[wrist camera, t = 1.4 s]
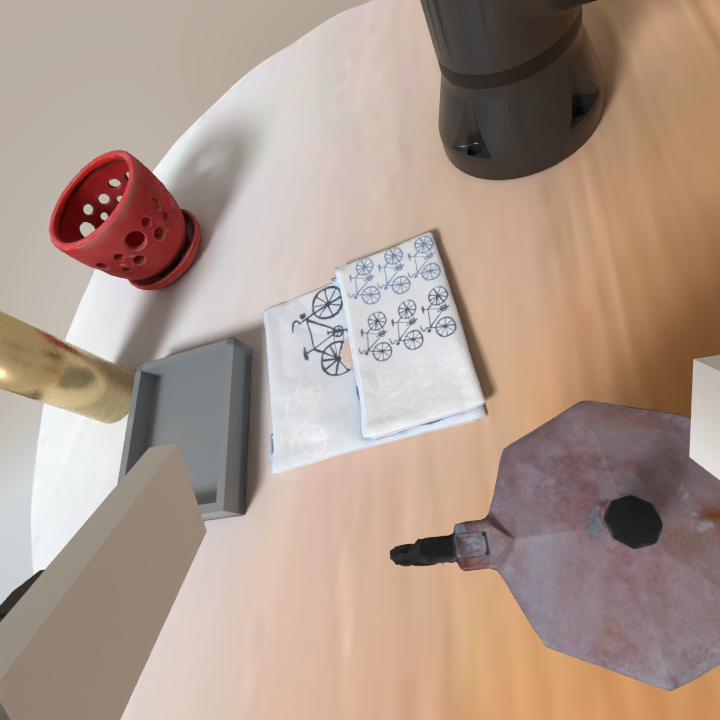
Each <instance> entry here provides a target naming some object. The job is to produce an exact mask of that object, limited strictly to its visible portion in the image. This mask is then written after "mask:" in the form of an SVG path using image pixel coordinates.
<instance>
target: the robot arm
mask: <svg viewBox="0 0 720 720" xmlns="http://www.w3.org/2000/svg"><path fill="white" fill-rule="evenodd" d="M420 1H421V4H422V8H423V11H424V15H425V18H426V22H427V25H428V28H429V32H430V35H431V39H432V42H433V46H434V49H435V53H436V55H437V59H438V62H439V66H440V70H441V89H440V106H439V132H440V137H441V140H442V143H443V146H444V149H445V152H446V154H447V156H448V158H449V160H450V161H451V162H452V163H453V164H454V165H455V166H456V167H457V168H458V169H459V170H461V171H463V172H464V173H466V174H469V175H471V176H474V177H478V178H482V179H489V180H507V179H515V178H520V177H525V176H529V175H532V174H535V173H538V172H541V171H543V170H545V169H548V168H550V167H552V166H554V165H556V164H557V163H559V162H561V161H562V160H564V159H566V158H567V157H568V156H570V155H571V154H572V153H574V152H575V151H576V150H577V149H578V148H580V147H581V146H582V145H583V144H584V143H585V142H586V140H587V139H588V138H589V137H590V135H591V134H592V133H593V131H594V130H595V128H596V126H597V125H598V123H599V120H600V118H601V115H602V111H603V104H604V78H603V73H602V69H601V67H600V64H599V62H598V59H597V57H596V54H595V52H594V50H593V47H592V45H591V42H590V40H589V38H588V35H587V33H586V30H585V28H584V26H583V23H582V5H584V4H587V3H590V2H593V1H596V0H420ZM689 457H690V458H691V459H693V460H694V461H695V462H697V463H698V464H699V465H700V466H702V467H703V468H704V469H706V470H707V471H708V472H710V473H711V474H712V475H714V476H715V477H716V478H718V479H719V480H720V355H716V356H709V357H703V358H697V359H694V360H693V383H692V406H691V429H690V452H689ZM205 533H206V528H205V525H204V522H203V519H202V516H201V513H200V509H199V506H198V503H197V500H196V497H195V494H194V491H193V488H192V485H191V482H190V479H189V476H188V472H187V469H186V466H185V463H184V460H183V457H182V454H181V451H180V448H179V445H178V443H174V444H168V445H162V446H156V447H150V448H149V449H148V450H147V451H146V452H145V453H144V454H143V456H142V457H141V458H140V459H139V460H138V461H137V463H136V464H135V465H134V466H133V467H132V468H131V470H130V471H129V472H128V473H127V474H126V476H125V477H124V478H123V479H122V480H121V481H120V483H119V484H118V485H117V486H116V487H115V488H114V490H113V491H112V492H111V493H110V494H109V495H108V497H107V498H106V499H105V500H104V501H103V503H102V504H101V505H100V506H99V507H98V508H97V510H96V511H95V512H94V513H93V514H92V515H91V517H90V518H89V519H88V520H87V521H86V522H85V524H84V525H83V526H82V527H81V528H80V530H79V531H78V532H77V533H76V534H75V535H74V537H73V538H72V539H71V540H70V541H69V542H68V544H67V545H66V546H65V547H64V548H63V549H62V551H61V552H60V553H59V554H58V555H57V556H56V558H55V559H54V560H53V561H52V562H51V564H50V565H49V566H48V567H47V568H46V569H45V570H40V571H39V572H37V573H36V574H35V575H34V576H32V577H31V578H30V579H28V580H27V581H26V582H25V583H24V584H22V585H21V586H19V587H18V588H17V589H15V590H14V591H13V592H12V593H11V594H10V595H9V596H8V597H7V599H6V600H5V601H4V602H3V603H2V604H1V605H0V720H120V719H121V717H122V714H123V712H124V710H125V708H126V706H127V703H128V701H129V699H130V697H131V695H132V693H133V690H134V688H135V686H136V684H137V682H138V679H139V677H140V675H141V673H142V671H143V669H144V666H145V664H146V662H147V660H148V658H149V655H150V653H151V651H152V649H153V647H154V645H155V642H156V640H157V638H158V636H159V634H160V631H161V629H162V627H163V625H164V623H165V621H166V618H167V616H168V614H169V612H170V610H171V608H172V605H173V603H174V601H175V599H176V597H177V594H178V592H179V590H180V588H181V586H182V584H183V581H184V579H185V577H186V575H187V573H188V570H189V568H190V566H191V564H192V562H193V560H194V557H195V555H196V553H197V551H198V549H199V546H200V544H201V542H202V540H203V538H204V536H205Z"/></svg>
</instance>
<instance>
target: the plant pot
mask: <svg viewBox="0 0 720 720" xmlns="http://www.w3.org/2000/svg"><path fill="white" fill-rule="evenodd" d="M126 172H129V178H128V177H127V175H126ZM111 179H117V180H119V181H120V183H121V184H120V185H119V186H117V187H114V186H111V185H110V184H109V181H110V180H111ZM101 194H106V195H108V196H109V198H110V200H109V202H108V203H106V204H102V203H100V202H99V200H98V197H99V195H101ZM118 196H122V198H121V200H120V202H118V201H117V199H116V198H117V197H118ZM86 204H90V205H91V206H92V207H93V212H92V214H90V215H87V214H85V213H84V211H83V207H84V206H85V205H86ZM103 212H105V213H107V214H108V218H107V219H106V220H102V219H101V217H100V215H101V213H103ZM83 222H88V223H91V224H92V225H93V226H94V228H95V231H94V232H92V233H91V234H90V235H88V236H87V237H84V236H83V235H82V234H81V232H80V225H81V224H82V223H83ZM49 232H50V237H51V241H52V243H53V244H54V246H55V247H57V248H58V249H59V250H61V251H63V252H64V253H66V254H67V255H69V256H71V257H72V258H74V259H76V260H78V261H80V262H81V263H83V264H86V265H88V266H90V267H92V268H96V269H99V270H101V271H103V272H105V273H108V274H110V275H112V276H116V277H120V278H125V279H128V280H129V282H130V283H131V284H132V285H133V286H135V287H137V288H139V289H143V290H155V289H159V288H162V287H164V286H166V285H168V284H170V283H172V282H173V281H175V280H176V279H177V278H178V277H180V276H181V275H182V274H183V273H184V272H185V271H186V269H187V268H188V267H189V266H190V264H191V263H192V261H193V259H194V257H195V255H196V253H197V250H198V247H199V243H200V227H199V224H198V221H197V220H196V218H195V216H194V215H193V214H192V213H191V212H189V211H187V210H184V209H180V208H179V206H178V204H177V202H176V201H175V199H174V198H173V196H172V195H171V194H170V192H169V191H168V190H167V189H166V187H165V186H164V185H163V184H162V182H160V181H159V180H158V179H157V177H156V176H155V175H154V174H153V173H152V172H151V171H150V170H149V169H148V168H147V167H145V166H144V165H143V164H142V163H141V162H140V161H139V160H137V159H136V158H135V157H133V156H132V155H131V154H129V153H128V152H125V151H122V150H118V151H117V150H116V151H111V152H108V153H105V154H103V155H101V156H99V157H97V158H96V159H94V160H93V161H92V162H90V163H89V164H88V165H86V166H85V167H84V168H83V169H82V170H81V171H80V172H79V173H78V174H77V175H76V176H75V177H74V178H73V180H72V181H71V182H70V183H69V185H68V186H67V187H66V189H65V190H64V191H63V193H62V194H61V196H60V198H59V200H58V202H57V204H56V206H55V208H54V211H53V213H52V217H51V220H50V226H49Z"/></svg>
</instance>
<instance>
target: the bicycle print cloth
mask: <svg viewBox="0 0 720 720" xmlns="http://www.w3.org/2000/svg"><path fill="white" fill-rule="evenodd" d="M335 274H336V279H331V281H332V283H331V284H328V285H326V286H324V287H321V288H319V289H317V290H314V291H312V292H309V293H306V294H304V295H302V296H299V297H297V298H294V299H292V300H290V301H288V302H285V303H281V304H278V305H276V306H273V307H271V308H268V309H267V310H265V311H264V312H263V315H262V317H263V321H264V326H265V333H266V343H267V359H268V372H269V387H270V400H271V415H272V429H273V433H272V434H271V436H270V465H271V473H272V474H274V475H275V474H276V475H277V476H278V475H279V474H282V473H285V472H288V471H291V470H294V469H297V468H299V467H302V466H305V465H308V464H312V463H315V462H318V461H321V460H324V459H328V458H331V457H335V456H338V455H342V454H346V453H350V452H354V451H358V450H362V449H366V448H370V447H374V446H378V445H382V444H386V443H390V442H394V441H398V440H401V439H405V438H409V437H413V436H416V435H420V434H424V433H428V432H432V431H436V430H440V429H445V428H449V427H453V426H458V425H461V424H465V423H470V422H474V421H475V420H477V419H480V418H483V417H486V415H487V414H486V411H485V409H484V406H483V404H484V403H485V402H486V400H485V397H484V395H483V392H482V389H481V386H480V383H479V380H478V377H477V374H476V371H475V368H474V365H473V361H472V358H471V355H470V352H469V348H468V344H467V341H466V337H465V333H464V330H463V326H462V323H461V320H460V317H459V313H458V310H457V307H456V304H455V302H454V299H453V296H452V292H451V289H450V286H449V283H448V280H447V277H446V273H445V269H444V266H443V263H442V260H441V257H440V255H439V251H438V248H437V245H436V243H435V240H434V237H433V234H432V232H427V233H424V234H422V235H420V236H417V237H415V238H412V239H410V240H408V241H406V242H404V243H402V244H400V245H397V246H395V247H392V248H390V249H387V250H384V251H382V252H379V253H376V254H374V255H371V256H369V257H366V258H363V259H360V260H357V261H355V262H352V263H350V264H348V265H345V266H342V267H340V268H335ZM347 337H349V340H350V347H351V353H352V359H353V364H354V369H355V371H354V370H352V369H349V367H348V366H347V365H346V364H345V363H344V362H343V361H342V359H341V357H340V351H341V349H342V345H343V343H344V341H345V338H347ZM272 435H273V439H272Z"/></svg>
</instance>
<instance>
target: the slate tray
mask: <svg viewBox="0 0 720 720" xmlns="http://www.w3.org/2000/svg"><path fill="white" fill-rule="evenodd" d="M251 351H252V350H251V349H250V348H249V347H247V346H246V345H244V344H243V343H241V342H240V341H238V340H237V339H236V338H234V337H233V338H230V339H226V340H223V341H220V342H216V343H213V344H209V345H206V346H202V347H199V348H196V349H192V350H189V351H185V352H182V353H178V354H175V355H171V356H168V357H165V358H161V359H158V360H154V361H151V362H147V363H144V364H141V365H137V366H136V372H135V378H134V384H133V390H132V397H131V403H130V409H129V416H128V422H127V428H126V434H125V441H124V447H123V453H122V460H121V466H120V472H119V478H118V484H119V483H120V481H121V480H122V479H123V478H124V477H125V476H126V474H127V473H128V472H129V471H130V470H131V468H132V467H133V466H134V465H135V464H136V463H137V461H138V460H139V459H140V458H141V457H142V456H143V454H144V453H145V452H146V451H147V450H148V449H149V448H150V447H156V446H162V445H168V444H174V443H178V445H179V448H180V451H181V454H182V457H183V460H184V463H185V466H186V469H187V472H188V476H189V479H190V482H191V485H192V488H193V491H194V494H195V497H196V500H197V503H198V506H199V509H200V513H201V516H202V519H203V521H207V520H214V519H221V518H228V517H234V516H241V515H245V494H246V470H247V447H248V423H249V399H250V375H251Z"/></svg>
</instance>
